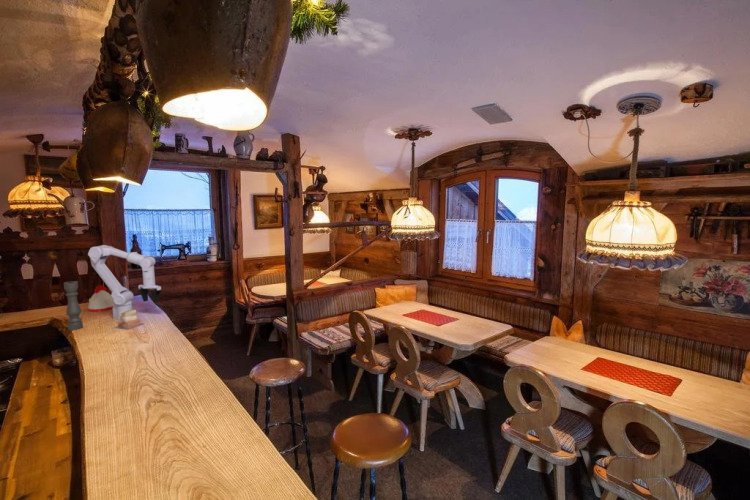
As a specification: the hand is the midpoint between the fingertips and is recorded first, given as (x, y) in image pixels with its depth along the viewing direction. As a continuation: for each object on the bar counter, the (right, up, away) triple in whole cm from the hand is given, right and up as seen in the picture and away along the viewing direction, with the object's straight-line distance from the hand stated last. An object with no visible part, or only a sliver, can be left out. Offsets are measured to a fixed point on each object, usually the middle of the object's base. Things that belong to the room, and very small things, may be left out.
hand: (150, 301), depth 213 cm
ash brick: (-2, -8, -17) cm, 18 cm away
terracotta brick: (-2, -11, -16) cm, 19 cm away
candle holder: (-30, -12, -16) cm, 36 cm away
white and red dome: (-44, -8, +22) cm, 49 cm away
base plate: (-2, -12, -16) cm, 20 cm away
